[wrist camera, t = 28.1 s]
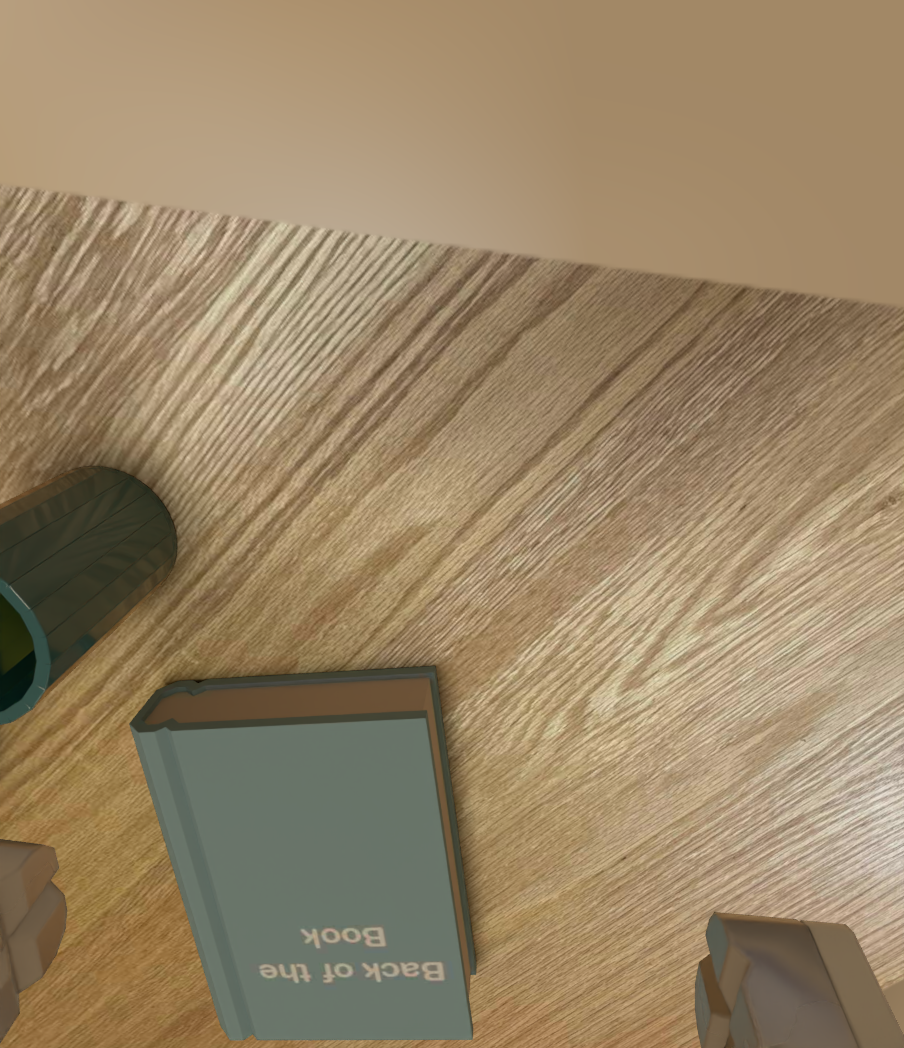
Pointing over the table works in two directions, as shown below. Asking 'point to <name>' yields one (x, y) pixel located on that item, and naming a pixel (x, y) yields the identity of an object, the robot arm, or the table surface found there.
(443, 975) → the book
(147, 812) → the table surface
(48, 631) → the tube
